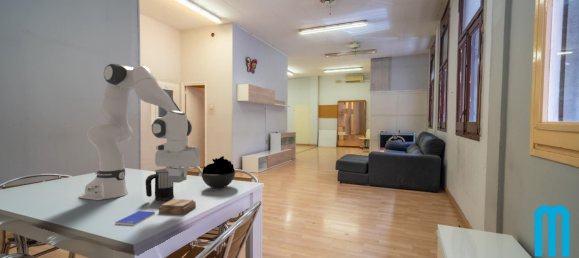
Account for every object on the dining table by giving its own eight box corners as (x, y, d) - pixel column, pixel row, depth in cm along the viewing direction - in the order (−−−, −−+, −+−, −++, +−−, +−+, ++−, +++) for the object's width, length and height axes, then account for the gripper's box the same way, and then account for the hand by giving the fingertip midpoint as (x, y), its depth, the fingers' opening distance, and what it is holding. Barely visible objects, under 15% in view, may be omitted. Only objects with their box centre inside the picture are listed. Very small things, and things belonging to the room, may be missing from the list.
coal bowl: (217, 194, 140) (217, 161, 140) (194, 189, 150) (194, 158, 150) (242, 186, 157) (242, 156, 157) (219, 182, 168) (219, 154, 167)
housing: (176, 179, 118) (176, 165, 118) (186, 179, 118) (186, 166, 118) (168, 182, 112) (168, 168, 112) (179, 182, 112) (179, 168, 112)
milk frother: (165, 194, 139) (165, 168, 139) (187, 197, 134) (187, 170, 134) (142, 202, 126) (142, 173, 126) (166, 206, 121) (166, 175, 120)
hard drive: (134, 222, 98) (154, 211, 110) (115, 221, 99) (137, 210, 111) (134, 226, 98) (154, 215, 110) (115, 225, 99) (137, 214, 111)
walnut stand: (158, 213, 111) (158, 205, 111) (172, 205, 121) (172, 198, 121) (184, 214, 110) (184, 206, 110) (195, 206, 120) (195, 199, 120)
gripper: (202, 145, 117) (202, 175, 117) (161, 145, 119) (161, 174, 120) (195, 147, 110) (195, 178, 111) (152, 146, 113) (153, 177, 113)
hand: (177, 176), depth 115 cm, fingers closed on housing, 5 cm apart
